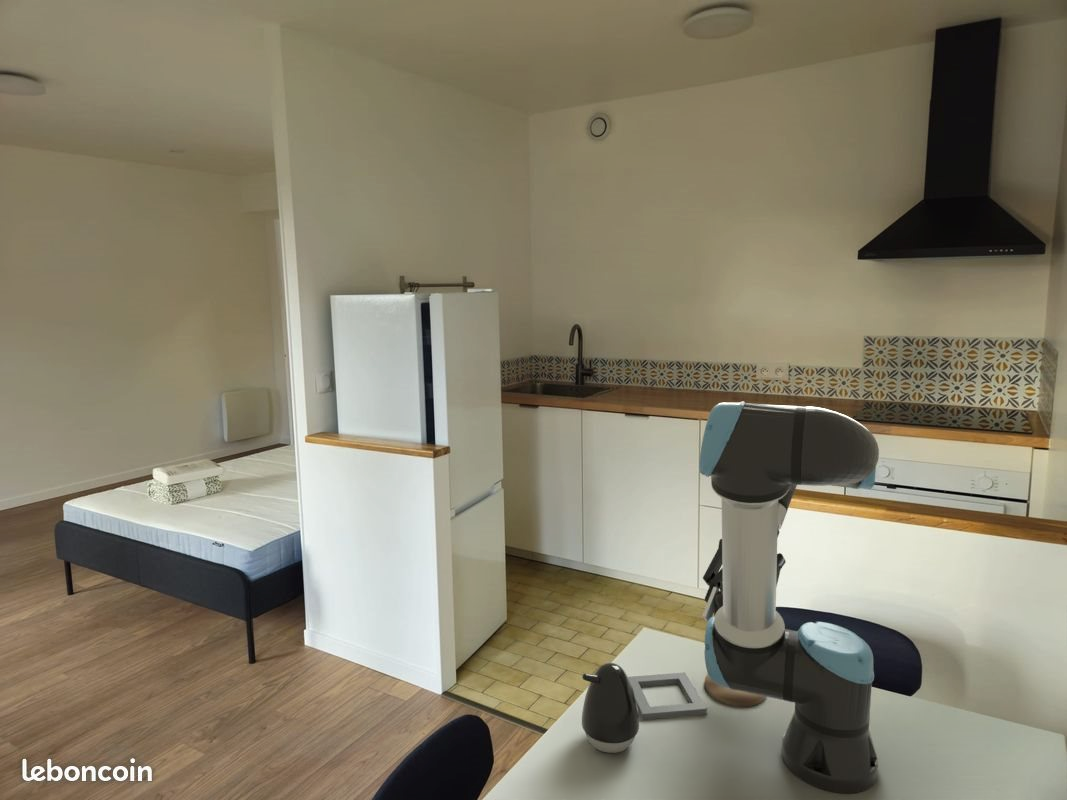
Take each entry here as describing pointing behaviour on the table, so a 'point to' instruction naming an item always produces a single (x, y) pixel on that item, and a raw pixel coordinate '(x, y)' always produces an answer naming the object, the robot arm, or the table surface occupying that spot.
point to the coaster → (731, 695)
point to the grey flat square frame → (667, 711)
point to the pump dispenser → (610, 709)
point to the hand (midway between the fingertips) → (723, 625)
